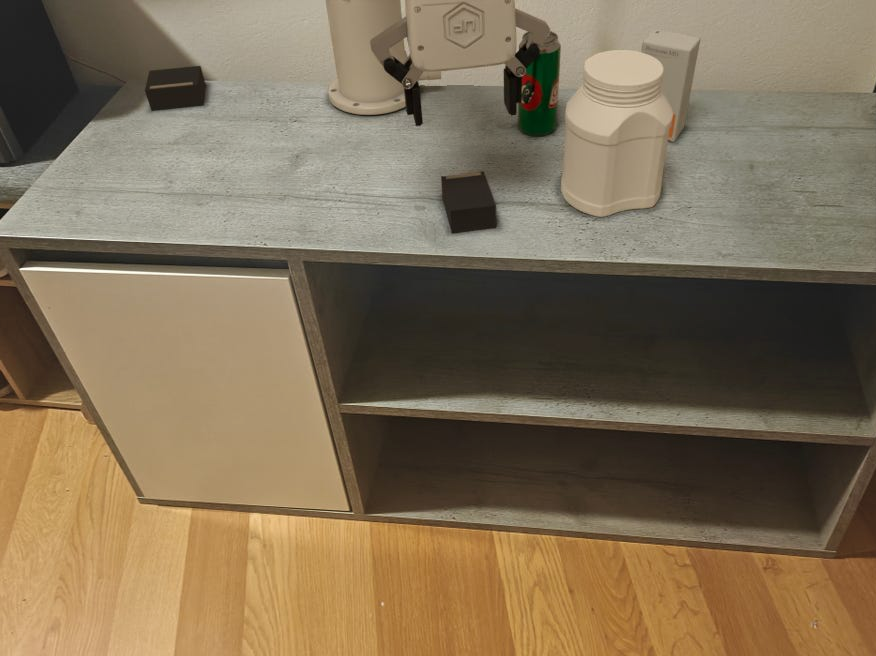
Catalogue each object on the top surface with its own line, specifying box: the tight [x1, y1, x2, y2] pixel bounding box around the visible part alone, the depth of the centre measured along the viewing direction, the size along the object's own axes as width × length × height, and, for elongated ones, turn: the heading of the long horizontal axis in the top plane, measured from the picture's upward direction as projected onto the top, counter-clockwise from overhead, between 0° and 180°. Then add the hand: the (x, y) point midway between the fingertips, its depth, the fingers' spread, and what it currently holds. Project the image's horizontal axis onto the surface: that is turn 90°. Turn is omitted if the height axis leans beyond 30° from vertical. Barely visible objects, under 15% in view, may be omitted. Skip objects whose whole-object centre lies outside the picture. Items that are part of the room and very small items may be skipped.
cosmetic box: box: [640, 28, 701, 143], centre depth 99 cm, size 6×4×12 cm
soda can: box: [517, 30, 562, 137], centre depth 100 cm, size 5×5×12 cm
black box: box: [440, 171, 497, 234], centre depth 90 cm, size 5×7×3 cm
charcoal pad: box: [144, 65, 207, 112], centre depth 112 cm, size 7×6×3 cm
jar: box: [560, 49, 673, 218], centre depth 89 cm, size 12×10×15 cm
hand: (464, 114), depth 83 cm, fingers open, 9 cm apart
